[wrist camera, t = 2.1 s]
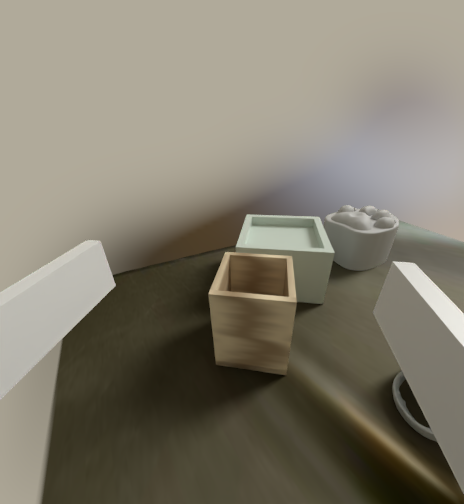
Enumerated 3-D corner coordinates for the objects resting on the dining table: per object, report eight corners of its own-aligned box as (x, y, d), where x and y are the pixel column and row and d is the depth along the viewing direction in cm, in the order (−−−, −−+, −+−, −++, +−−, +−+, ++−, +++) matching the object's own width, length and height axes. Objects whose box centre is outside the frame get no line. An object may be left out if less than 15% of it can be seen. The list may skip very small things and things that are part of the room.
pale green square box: (311, 258, 43) (319, 216, 39) (323, 304, 32) (334, 252, 28) (246, 254, 45) (246, 214, 41) (235, 295, 34) (234, 247, 30)
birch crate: (284, 320, 30) (292, 255, 25) (286, 375, 23) (296, 302, 18) (228, 313, 31) (224, 251, 26) (214, 364, 25) (206, 293, 20)
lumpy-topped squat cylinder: (311, 250, 46) (318, 209, 42) (353, 235, 51) (363, 197, 47) (357, 275, 38) (372, 228, 34) (401, 255, 43) (418, 211, 39)
